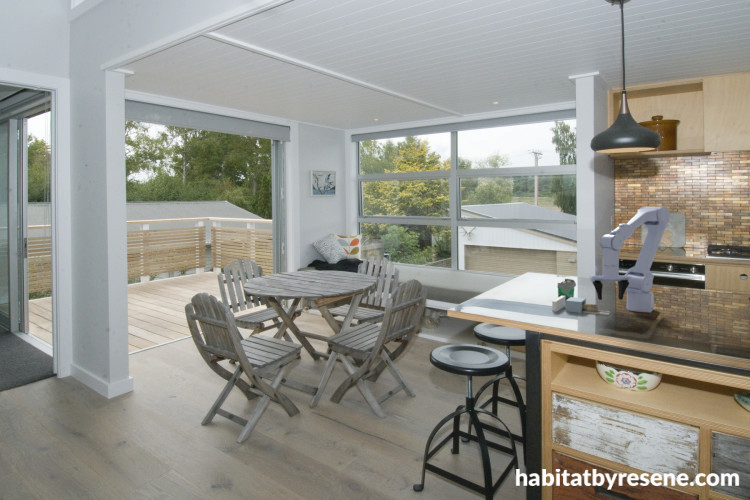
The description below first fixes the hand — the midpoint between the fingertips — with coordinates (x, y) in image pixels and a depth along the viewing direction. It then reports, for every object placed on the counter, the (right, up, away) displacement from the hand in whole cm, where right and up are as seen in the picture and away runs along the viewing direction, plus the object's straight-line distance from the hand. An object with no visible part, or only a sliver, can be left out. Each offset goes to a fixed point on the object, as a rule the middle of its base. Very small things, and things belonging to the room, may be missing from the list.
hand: (610, 299), depth 184 cm
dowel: (-7, -6, +6) cm, 11 cm away
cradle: (-3, -7, +4) cm, 9 cm away
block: (-10, -7, +9) cm, 15 cm away
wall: (-15, -7, +13) cm, 21 cm away
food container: (-5, -5, +27) cm, 28 cm away
